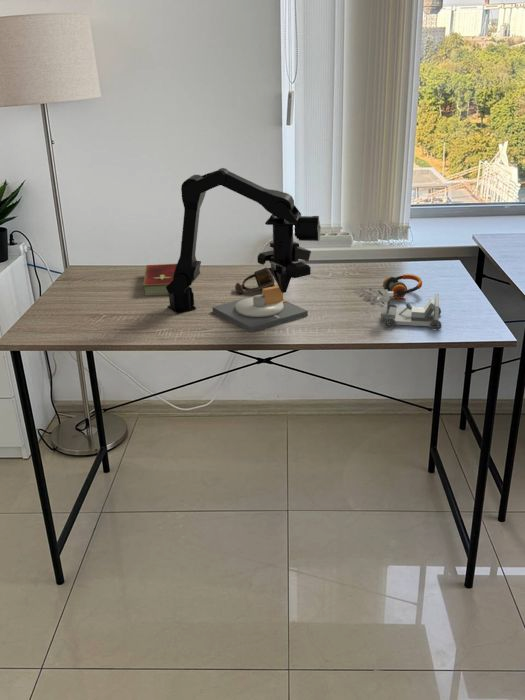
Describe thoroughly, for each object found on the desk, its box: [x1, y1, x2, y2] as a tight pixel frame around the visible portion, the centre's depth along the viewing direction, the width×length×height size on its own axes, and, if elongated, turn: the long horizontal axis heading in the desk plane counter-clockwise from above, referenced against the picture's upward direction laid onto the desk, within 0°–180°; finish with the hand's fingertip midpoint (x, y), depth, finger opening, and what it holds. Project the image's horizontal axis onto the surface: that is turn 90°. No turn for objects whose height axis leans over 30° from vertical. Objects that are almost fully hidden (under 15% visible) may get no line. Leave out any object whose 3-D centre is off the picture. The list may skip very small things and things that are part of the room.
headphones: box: [354, 273, 423, 305], centre depth 225 cm, size 16×5×20 cm
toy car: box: [376, 289, 442, 331], centre depth 206 cm, size 18×10×12 cm
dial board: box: [212, 293, 309, 333], centre depth 215 cm, size 20×20×2 cm
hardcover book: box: [142, 263, 177, 296], centre depth 241 cm, size 12×21×4 cm, turn 5°
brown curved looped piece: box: [234, 267, 276, 294], centre depth 232 cm, size 7×13×10 cm
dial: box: [236, 285, 284, 317], centre depth 213 cm, size 14×14×6 cm
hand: (283, 292), depth 212 cm, fingers closed
